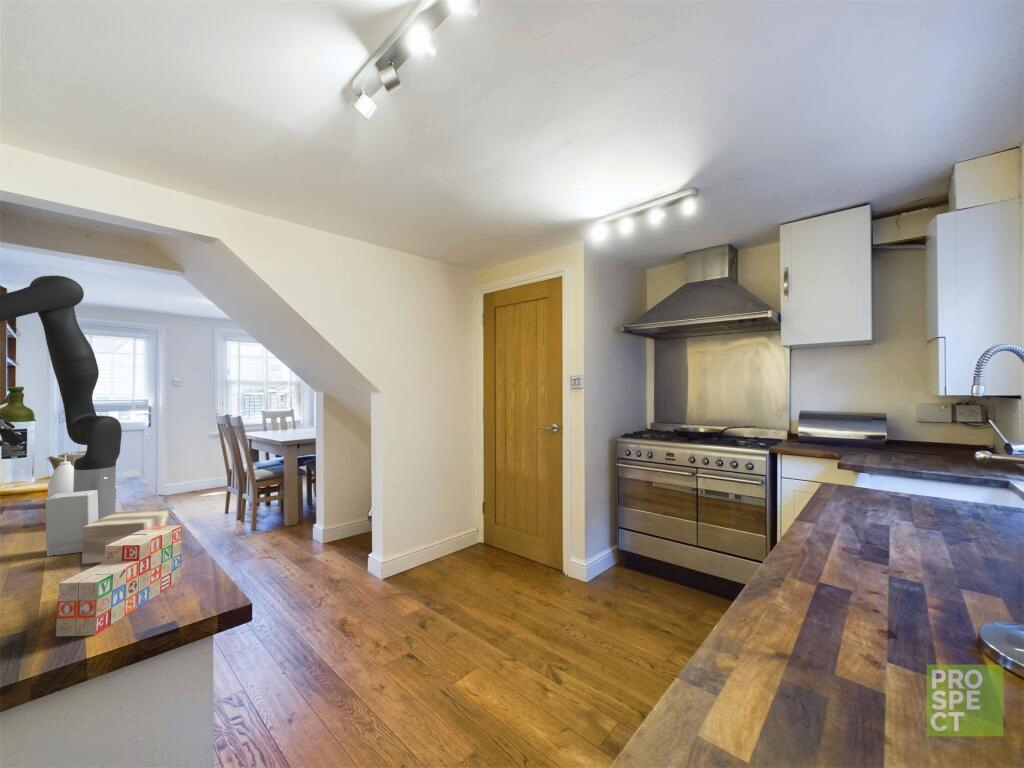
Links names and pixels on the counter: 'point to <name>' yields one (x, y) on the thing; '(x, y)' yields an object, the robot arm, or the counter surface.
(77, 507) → the skincare box
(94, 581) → the stack of blocks
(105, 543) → the riser block
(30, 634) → the counter surface
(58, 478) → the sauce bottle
